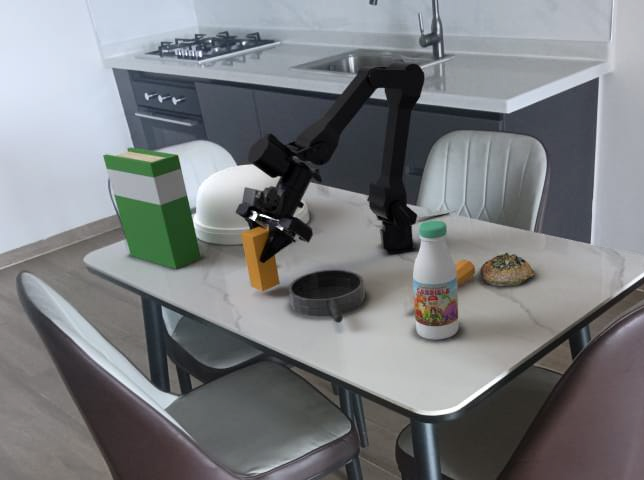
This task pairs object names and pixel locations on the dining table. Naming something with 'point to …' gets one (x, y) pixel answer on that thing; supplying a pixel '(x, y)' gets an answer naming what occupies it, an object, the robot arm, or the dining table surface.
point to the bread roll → (506, 270)
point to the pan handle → (335, 310)
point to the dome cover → (230, 204)
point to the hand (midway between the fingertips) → (254, 259)
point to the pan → (326, 292)
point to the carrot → (464, 271)
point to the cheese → (259, 272)
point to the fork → (430, 215)
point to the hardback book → (153, 206)
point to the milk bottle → (435, 284)
